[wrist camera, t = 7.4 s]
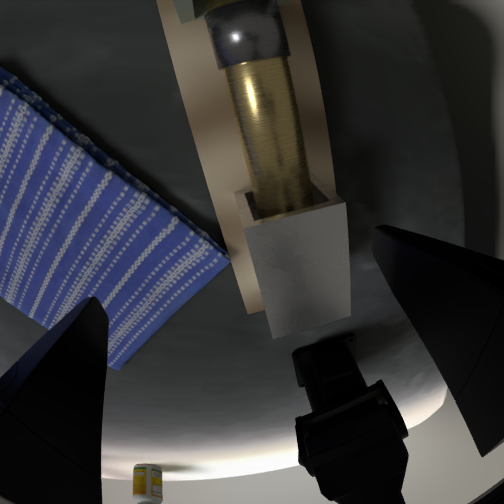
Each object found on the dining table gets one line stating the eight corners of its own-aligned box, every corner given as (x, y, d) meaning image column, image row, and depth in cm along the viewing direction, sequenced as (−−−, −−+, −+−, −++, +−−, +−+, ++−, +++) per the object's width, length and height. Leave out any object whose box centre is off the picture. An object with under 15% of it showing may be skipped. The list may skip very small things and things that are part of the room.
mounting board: (340, 282, 24) (343, 286, 24) (247, 309, 24) (247, 314, 24) (272, -76, 10) (274, -80, 9) (144, -54, 10) (142, -57, 9)
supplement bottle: (163, 466, 42) (165, 512, 34) (160, 473, 44) (161, 515, 36) (134, 461, 40) (133, 508, 32) (132, 469, 43) (132, 512, 34)
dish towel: (-4, 56, 11) (-27, 57, 9) (236, 245, 22) (241, 267, 19) (-62, 228, 16) (-78, 243, 14) (120, 361, 27) (116, 384, 24)
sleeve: (325, 272, 23) (350, 315, 19) (259, 290, 23) (273, 339, 19) (313, 173, 19) (345, 202, 14) (233, 192, 19) (243, 228, 14)
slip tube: (309, 208, 19) (329, 235, 16) (255, 223, 19) (265, 252, 16) (255, -37, 11) (267, -62, 8) (191, -26, 11) (188, -51, 8)
